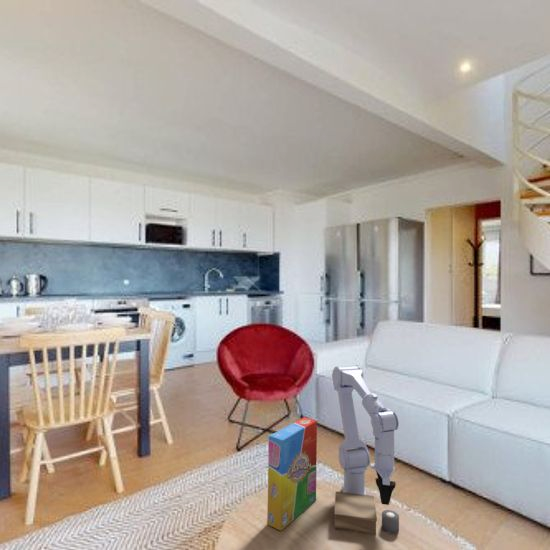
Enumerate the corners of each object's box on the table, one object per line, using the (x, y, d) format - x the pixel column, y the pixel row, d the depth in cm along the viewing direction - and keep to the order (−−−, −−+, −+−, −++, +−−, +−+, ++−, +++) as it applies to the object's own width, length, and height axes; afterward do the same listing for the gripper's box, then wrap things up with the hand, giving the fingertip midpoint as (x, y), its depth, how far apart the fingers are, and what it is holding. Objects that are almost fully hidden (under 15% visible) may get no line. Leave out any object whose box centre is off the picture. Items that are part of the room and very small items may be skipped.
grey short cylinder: (381, 521, 116) (381, 508, 116) (397, 524, 115) (397, 510, 115) (382, 532, 111) (382, 518, 111) (400, 535, 110) (400, 521, 110)
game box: (280, 532, 111) (281, 440, 111) (266, 525, 114) (267, 435, 114) (316, 499, 127) (317, 420, 128) (303, 494, 131) (303, 416, 131)
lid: (335, 493, 124) (335, 491, 124) (373, 497, 122) (374, 495, 122) (334, 515, 112) (334, 513, 112) (376, 521, 110) (376, 519, 110)
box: (336, 505, 124) (336, 493, 124) (373, 510, 122) (373, 497, 122) (334, 529, 112) (335, 515, 112) (376, 534, 110) (376, 521, 110)
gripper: (369, 440, 121) (369, 482, 121) (371, 461, 107) (371, 508, 107) (392, 442, 120) (392, 484, 120) (397, 464, 106) (397, 512, 106)
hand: (384, 496), depth 113 cm, fingers open, 7 cm apart
